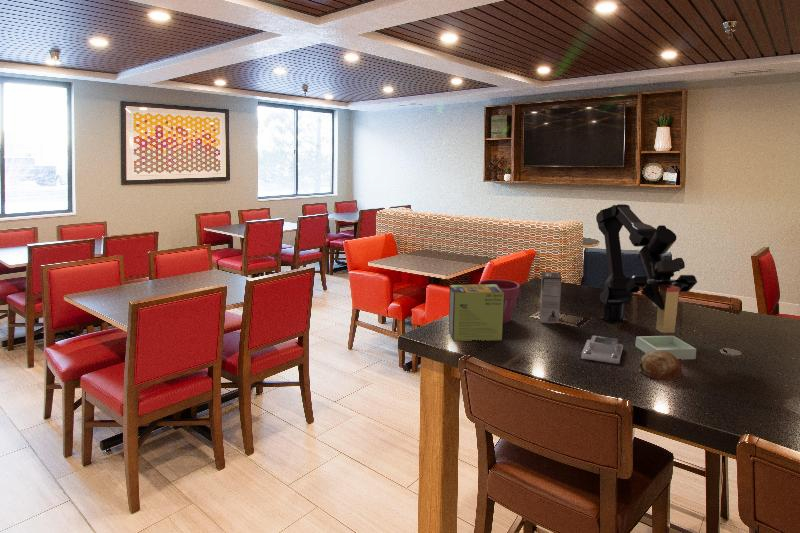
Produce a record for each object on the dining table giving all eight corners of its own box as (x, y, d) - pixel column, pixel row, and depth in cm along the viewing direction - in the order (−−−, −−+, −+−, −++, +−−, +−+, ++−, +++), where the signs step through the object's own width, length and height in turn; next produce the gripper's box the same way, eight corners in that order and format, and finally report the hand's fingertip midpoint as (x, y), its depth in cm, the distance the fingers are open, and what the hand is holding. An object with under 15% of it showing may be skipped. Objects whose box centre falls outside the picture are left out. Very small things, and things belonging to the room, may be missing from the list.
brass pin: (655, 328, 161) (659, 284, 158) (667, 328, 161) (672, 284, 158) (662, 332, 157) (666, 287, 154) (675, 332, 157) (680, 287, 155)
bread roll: (637, 379, 151) (627, 354, 149) (671, 362, 150) (661, 337, 149) (656, 394, 141) (646, 368, 139) (693, 377, 141) (683, 350, 139)
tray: (635, 346, 166) (636, 336, 165) (672, 345, 166) (673, 335, 166) (655, 360, 154) (656, 349, 154) (695, 359, 155) (696, 349, 155)
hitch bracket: (587, 344, 167) (587, 333, 166) (622, 349, 163) (623, 338, 162) (581, 358, 155) (582, 346, 155) (619, 364, 151) (620, 352, 150)
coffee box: (538, 315, 197) (541, 271, 194) (557, 316, 196) (560, 272, 192) (540, 322, 188) (542, 276, 185) (559, 324, 187) (562, 277, 184)
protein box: (502, 340, 170) (504, 291, 167) (453, 341, 169) (454, 292, 166) (494, 330, 180) (496, 283, 177) (448, 330, 179) (449, 284, 176)
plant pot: (523, 325, 186) (525, 288, 183) (482, 326, 184) (484, 288, 182) (511, 313, 200) (512, 278, 197) (473, 314, 198) (474, 279, 196)
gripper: (634, 248, 157) (650, 295, 149) (697, 247, 159) (716, 294, 150) (619, 269, 167) (633, 314, 158) (679, 268, 168) (696, 314, 159)
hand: (670, 309), depth 156 cm, fingers closed on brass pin, 4 cm apart
